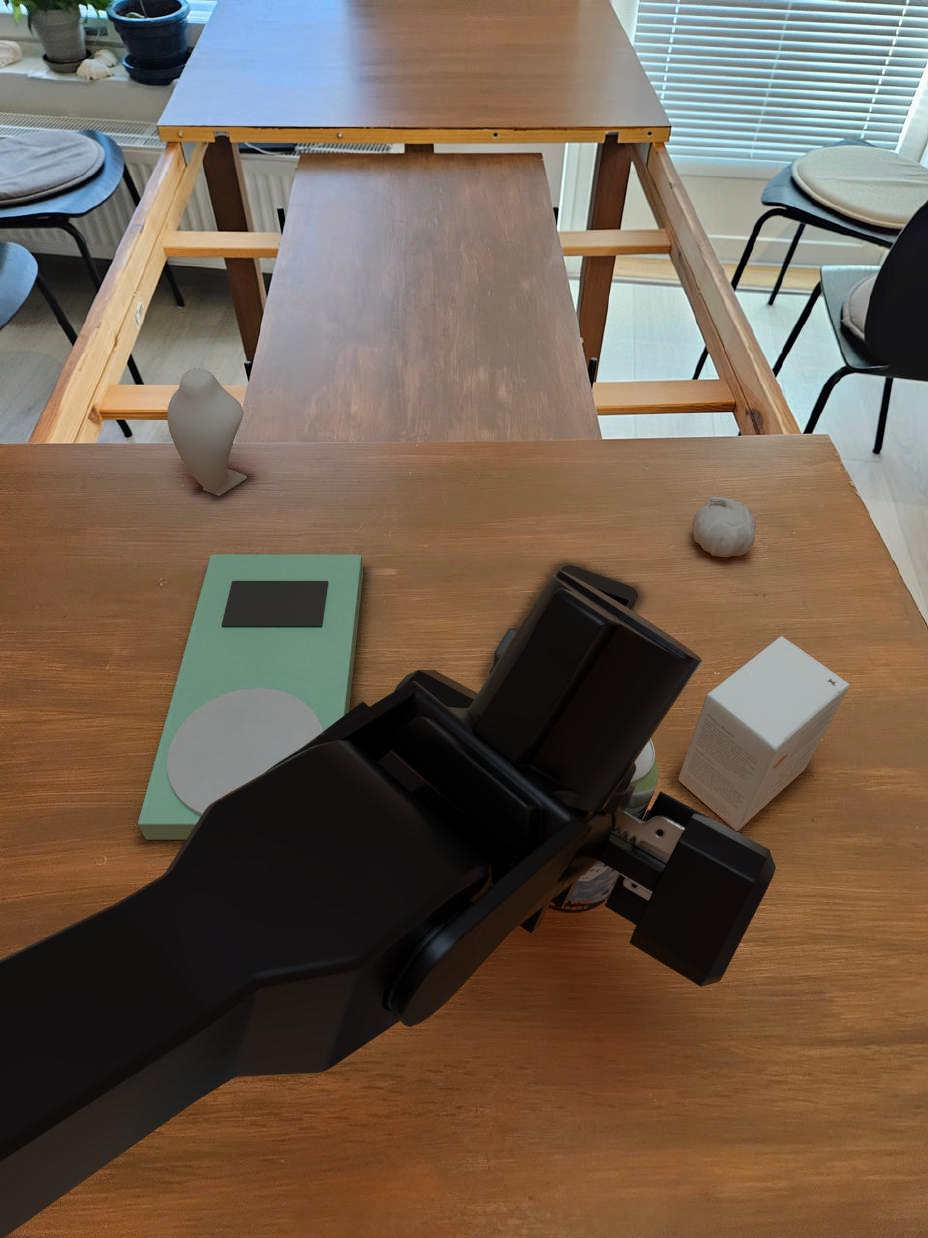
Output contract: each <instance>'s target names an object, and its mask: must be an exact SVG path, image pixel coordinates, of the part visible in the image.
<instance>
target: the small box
mask: <svg viewBox="0 0 928 1238" xmlns="http://www.w3.org/2000/svg"><path fill="white" fill-rule="evenodd" d="M850 687H851V684H850V683H849V682H847V681H846V680H845V679H843V678H842V677H840V676H839V675H837V674H836V673H835V672H833V671H832V670H831V669H829V668H828V667H826V665H824V664H822V663H820V662H819V661H818V660H816V659H815V658H814V657H812V656H811V655H810V654H808V653H807V652H805V651H804V650H802V649H801V648H800V647H799V646H797V645H795V644H794V643H793V642H791V641H790V640H788V639H786V638H785V637H784V636H783V635H779V636H778V637H776V638H775V639H774V640H773V641H772V642H770V643H769V644H768V645H767V646H765V647H764V648H763V649H762V650H760V651H759V652H758V653H757V654H755V655H754V656H752V658H750V659H749V660H748V661H747V662H746V663H744V664H743V665H741V667H739V668H738V669H736V671H733V673H732V674H730V675H729V676H728V677H727V678H725V679H724V680H723V681H722V682H720V683H719V684H718V685H716V686H714V688H713V689H711V690H710V691H709V692H707V693H706V695H705V698H704V701H703V704H702V707H701V709H700V713H699V715H698V719H697V721H696V725H695V728H694V731H693V735H692V737H691V740H690V743H689V745H688V749H687V752H686V755H685V757H684V761H683V764H682V767H681V771H680V773H679V776H678V782H679V783H681V784H682V785H683V786H684V787H685V788H686V789H687V790H688V791H689V792H691V793H692V794H693V795H694V796H695V797H696V798H698V799H699V800H700V801H701V802H702V803H703V804H704V805H705V806H707V807H708V808H709V809H710V810H711V811H712V812H713V813H715V814H716V815H717V816H718V817H719V818H721V819H722V821H724V822H725V823H726V824H727V825H729V826H730V828H731V829H732V830H734V831H736V832H738V831H740V830H741V829H742V828H743V827H744V826H745V825H746V824H747V823H748V822H749V821H751V819H752V818H754V817H755V816H756V815H757V814H758V813H759V812H760V811H761V810H762V809H764V808H765V807H766V806H767V805H768V804H769V803H770V802H771V801H772V800H773V799H774V798H775V797H777V796H778V795H779V794H780V793H781V792H783V790H784V789H785V788H786V787H788V786H789V785H790V784H791V783H792V782H793V781H794V780H795V779H797V777H798V776H800V775H801V774H802V773H803V772H805V770H806V768H807V767H808V765H809V763H810V762H811V759H812V757H813V756H814V755H815V752H816V751H817V748H818V747H819V745H820V743H821V741H822V739H823V738H824V735H825V734H826V732H827V730H828V728H829V726H830V725H831V722H832V721H833V719H834V717H835V715H836V713H837V711H838V709H839V707H840V705H841V704H842V701H843V700H844V699H845V696H846V694H847V692H848V690H849V689H850Z"/></svg>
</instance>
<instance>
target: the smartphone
mask: <svg viewBox="0 0 928 1238" xmlns="http://www.w3.org/2000/svg"><path fill="white" fill-rule="evenodd" d="M559 570H561V571H564V572H566V573H568V574H570V575H572V576H574V577H576V578H577V579H579V580H581V581H583V582H585V583H587V584H588V585H590V586H592V587H594V588H595V589H597V590H599V591H601V592H602V593H604V594H606V595H607V596H609V597H611V598H612V599H614V600H616V601H617V602H619V603H621V604H622V605H624V606H625V607H627V608H629V609H630V610H632V609H633V608H634V606H635V605H636V602H637V601H638V597H639V595H638V591H637V589H636V588H634V587H633V586H631V585H628V584H626V583H623V582H620V581H617V580H616V579H612V578H610V577H606V576H604V575H601V574H599V573H595V572H593V571H589V570H587V569H585V568H582V567H578V566H576V565H572V564H567V565H564V566H562V567H561V568H560V569H559ZM492 670H493V666H491V668H490V672H489V674H490V673H491V672H492Z"/></svg>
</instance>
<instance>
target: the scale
mask: <svg viewBox="0 0 928 1238" xmlns="http://www.w3.org/2000/svg"><path fill="white" fill-rule="evenodd" d="M363 580H364V564H363V555H362V554H281V553H280V554H275V553H274V554H266V553H265V554H262V553H261V554H260V553H259V554H258V553H256V554H244V553H243V554H240V553H239V554H235V553H233V554H232V553H231V554H230V553H229V554H228V553H227V554H225V553H223V554H222V553H221V554H213V553H212V554H210V557H209V561H208V564H207V568H206V572H205V574H204V578H203V583H202V585H201V590H200V593H199V597H198V601H197V604H196V607H195V612H194V616H193V619H192V623H191V626H190V630H189V634H188V638H187V641H186V645H185V648H184V651H183V656H182V659H181V663H180V667H179V671H178V674H177V678H176V682H175V684H174V688H173V693H172V696H171V700H170V703H169V707H168V711H167V715H166V718H165V722H164V726H163V729H162V733H161V737H160V740H159V743H158V747H157V751H156V755H155V759H154V762H153V765H152V769H151V773H150V777H149V780H148V783H147V788H146V792H145V796H144V799H143V802H142V807H141V810H140V814H139V817H138V821H137V826H138V827H139V829H140V831H141V833H142V835H143V836H144V839H145V840H147V841H148V840H149V841H150V840H151V841H152V840H153V841H155V840H156V841H157V840H163V841H165V840H166V841H167V840H168V841H170V840H173V841H174V840H175V841H176V840H177V841H179V840H182V841H183V840H184V841H186V839H187V838H188V836H189V835H190V833H191V831H192V830H193V828H194V827H195V825H196V824H197V822H198V820H199V819H200V817H201V816H202V814H203V813H204V811H205V810H206V808H207V807H208V806H209V805H210V804H212V803H213V802H214V801H216V800H218V799H219V798H221V797H223V796H225V795H226V794H228V793H230V792H232V791H233V790H235V789H237V788H239V787H241V786H242V785H244V784H246V783H248V782H249V781H251V780H253V779H255V778H256V777H258V776H260V775H262V774H263V773H264V772H266V771H267V770H269V769H270V768H271V767H273V766H274V765H275V764H277V763H278V762H280V761H281V760H283V759H285V758H286V757H288V756H289V755H291V754H293V753H294V752H296V751H298V750H299V749H301V748H302V747H304V746H305V745H306V744H307V743H309V742H310V741H311V740H313V739H314V738H315V737H317V736H318V735H319V734H321V733H322V732H323V731H324V730H326V729H327V728H328V727H330V726H331V725H332V724H334V723H335V722H336V721H338V720H339V719H340V718H342V717H343V716H344V715H345V714H347V713H348V712H349V711H350V707H351V696H352V685H353V677H354V668H355V667H354V666H355V658H356V649H357V637H358V629H359V618H360V610H361V609H360V608H361V600H362V591H363V590H362V589H363Z"/></svg>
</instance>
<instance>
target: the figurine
mask: <svg viewBox="0 0 928 1238" xmlns="http://www.w3.org/2000/svg"><path fill="white" fill-rule="evenodd" d="M166 413H167V416H166V418H167V426H168V431H169V434H170V437H171V439H172V442H173V444H174V447H175V448H176V451H177V453H178V455H179V456H180V458H181V460H182V462H183V464H184V465H185V467H186V469H187V470H188V471H189V473H190V474H191V476H192V477H193V478H194V479H195V481H196V482H197V483H199V485H200V486H201V487H202V490H203V491H205V492H208V493H210V494H213V495H216V496H218V497H221V496H222V495H224V494H225V493H227V492H229V490H231V489H232V488H234V487H236V486H237V485H239V484H240V483H242V482H243V481H245V480H247V478H248V476H246V475H245V474H243V473H240V472H237V471H235V470H232V469H230V468H228V466H229V461H230V456H231V452H232V448H233V445H234V443H235V438H236V436H237V433H238V431H239V428H240V426H241V424H242V420H243V417H244V408H243V406H242V404H241V403H240V401H239V400H238V399H237V398H236V397H235V396H233V395H232V394H231V393H229V392H228V391H227V390H226V389H225V388H224V387H223V385H222V384H221V383H220V382H219V380H218V379H217V378H216V377H215V375H214V373H212V372H210V370H208V369H205V368H200V367H193V368H190V369H188V370H187V371H186V372H184V374H183V375H182V377H181V378H180V382H179V386H178V388H177V390H175V392H174V393H173V394H172V396H171V397H170V400H169V403H168V406H167V412H166Z"/></svg>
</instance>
